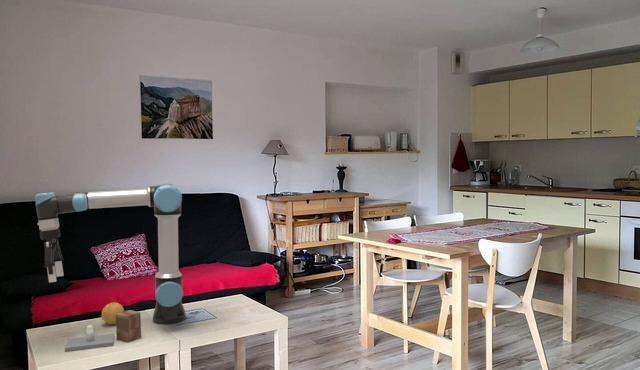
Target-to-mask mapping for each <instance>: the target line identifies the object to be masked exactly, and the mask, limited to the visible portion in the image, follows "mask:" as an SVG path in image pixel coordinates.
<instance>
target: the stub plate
mask: <svg viewBox="0 0 640 370" xmlns="http://www.w3.org/2000/svg"><path fill="white" fill-rule="evenodd" d="M85 329H86V332H85V333H86V336H83V337H82V336H81V337H73V338H71V337H70V338H68V339H67V341H66V343H65V346H64V352H65V353H67V352H74V351H76V352H77V351H82V350H83V351H84V350H90V349H92V350H93V349H98V348H107V347H114V344H115V333H105V334H98V335H95V333H94V331H95V330H94V329H95V328H94V326H93V325H91V324H89V325H87V326H86V328H85Z"/></svg>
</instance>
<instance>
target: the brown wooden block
mask: <svg viewBox="0 0 640 370" xmlns="http://www.w3.org/2000/svg"><path fill="white" fill-rule="evenodd" d="M141 325H142V321H141V311H138V310H137V311H135V310H131V309H129V310H128V309H127V310H124V312H121V313H118V314H116V324H115V326H116V327H115V328H116V329H115V331H116V336H115V337H116V341H120V342H124V343H130V342H132V341H136V340H138V339H141V338H142V327H141Z"/></svg>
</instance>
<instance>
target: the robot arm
mask: <svg viewBox="0 0 640 370" xmlns="http://www.w3.org/2000/svg"><path fill="white" fill-rule="evenodd" d="M182 201H183V195H182V193H181V191H180V189H179V188H178V187H177V186H175V185H174V184H170V183H164V184H159V185H151V186H148V187H146V188H140V189H139V188H137V189H136V188H135V189H121V190H120V189H119V190H107V191H106V190H105V191H104V190H102V191H87V192H86V191H85V192H80V191H79V192H78V191H77V192H72V193H70V194H65V195H57V196H56V194H55V192H52V191H51V192H42V193H37V194H36V195H35V208H36V209H35V210H36V215H37V221H38V222H37V226H38V227H39V236H40V240H42V241H45V240H46V242H44V243H43V246H44V265H43V266H44V268H46V270H47V271H46V272H47V279H48V283H55V282H57V277H64V268H63V263H62V261H64V257H63V254H62V250H61V246H60V244H59V243H60V242H59V239H58V238H60V237H61V231H60V222H59V217H58V214H59V215H61V214H67V213H74V212H77V213H80V212H83V211H87V210H91V209H92V210H93V209H103V208H104V209H105V208H106V209H107V208H121V207H137V206H138V207H140V206H148V207H149V208H153V210H154V211H153V213H154V217H156V218H157V237H158V238H157V243H158V244H157V246H158V250H157V251H158V272H156V273H155V274H154V275H155V276H154V280H155V282H154V284H155V286H154V287H155V289H154V290H155V291H154V296H155V297H154V298H155V308H154V311H153V314H152V322H153V323H154V324H159V325H160V324H161V325H165V324H166V325H168V324H169V325H170V324H177V323H179V322H180V323H181V322H183V321H184V320H186V318H187V317H186V316H187V313H186V310H185V307H184V305H183V301H182V299H183V297H184V290H183V274H182V273H181V271H179V266H180V265H179V217H181V215H182Z"/></svg>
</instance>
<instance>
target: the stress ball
mask: <svg viewBox="0 0 640 370" xmlns="http://www.w3.org/2000/svg"><path fill="white" fill-rule="evenodd" d="M124 308H125V307H123V305H122V304H120V303H118V302H110V303H107V304H106V305H105V306H104V307H103V308H102V310H101V319H102V321H103V322H105V324H108V325H116V314H118V313H121V312H124V311H125V309H124Z"/></svg>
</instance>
